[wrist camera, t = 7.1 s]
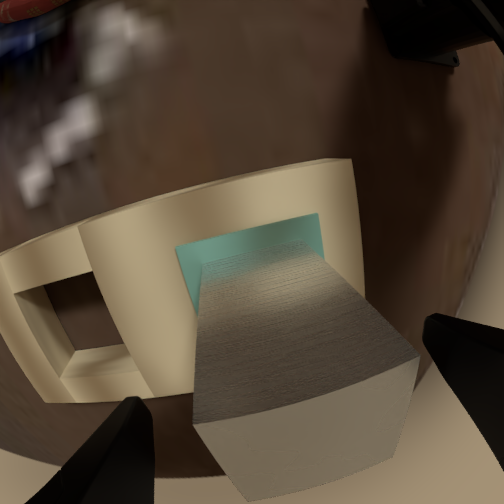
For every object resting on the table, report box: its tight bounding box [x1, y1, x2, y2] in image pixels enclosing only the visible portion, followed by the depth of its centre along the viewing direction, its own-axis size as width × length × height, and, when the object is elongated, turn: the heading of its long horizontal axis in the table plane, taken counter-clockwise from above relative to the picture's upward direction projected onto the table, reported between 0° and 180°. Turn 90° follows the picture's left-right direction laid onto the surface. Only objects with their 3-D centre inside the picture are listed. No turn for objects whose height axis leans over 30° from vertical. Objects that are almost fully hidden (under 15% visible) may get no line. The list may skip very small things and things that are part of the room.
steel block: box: [193, 239, 421, 502], centre depth 9 cm, size 4×4×8 cm
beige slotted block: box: [0, 158, 365, 403], centre depth 14 cm, size 21×10×3 cm, turn 102°
